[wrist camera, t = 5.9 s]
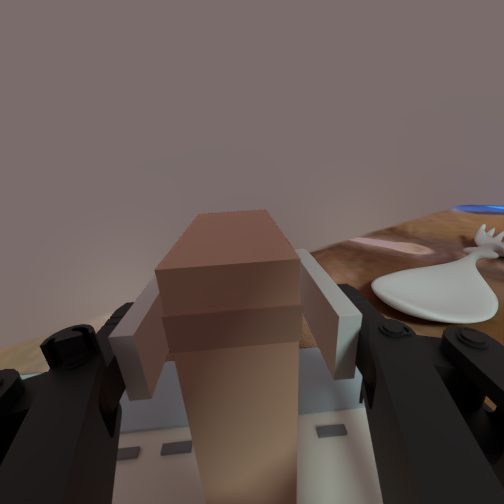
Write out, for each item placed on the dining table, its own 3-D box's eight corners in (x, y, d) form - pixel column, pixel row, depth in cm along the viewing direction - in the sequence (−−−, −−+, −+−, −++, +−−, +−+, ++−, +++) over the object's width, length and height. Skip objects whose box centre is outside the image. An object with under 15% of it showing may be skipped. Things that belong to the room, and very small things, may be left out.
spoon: (563, 256, 31) (574, 231, 30) (458, 361, 16) (471, 320, 15) (476, 241, 39) (482, 220, 38) (349, 304, 24) (352, 273, 23)
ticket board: (341, 356, 17) (343, 343, 17) (504, 646, 7) (517, 631, 6) (-30, 392, 16) (-39, 379, 16) (-516, 805, 6) (-581, 800, 5)
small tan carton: (272, 375, 14) (266, 209, 11) (297, 520, 8) (303, 259, 5) (220, 381, 14) (197, 213, 10) (210, 531, 8) (151, 270, 5)
